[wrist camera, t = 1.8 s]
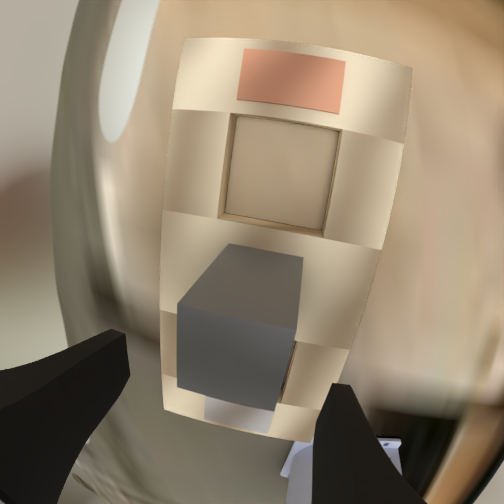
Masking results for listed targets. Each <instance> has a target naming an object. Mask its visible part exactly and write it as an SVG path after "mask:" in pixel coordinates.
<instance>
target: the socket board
mask: <svg viewBox="0 0 504 504" xmlns="http://www.w3.org/2000/svg"><path fill="white" fill-rule="evenodd" d="M411 80H412V68H411V67H407V66H404V65H401V64H397V63H394V62H390V61H387V60H383V59H379V58H375V57H371V56H367V55H363V54H358V53H354V52H349V51H344V50H339V49H333V48H328V47H322V46H316V45H309V44H302V43H294V42H285V41H275V40H263V39H246V38H184V41H183V47H182V52H181V57H180V63H179V69H178V75H177V81H176V87H175V94H174V101H173V108H172V116H171V123H170V132H169V140H168V149H167V159H166V170H165V182H164V195H163V209H162V227H161V251H160V347H161V371H162V388H163V402H164V409H165V410H168V411H171V412H174V413H177V414H181V415H184V416H187V417H190V418H194V419H197V420H201V421H204V422H208V423H212V424H215V425H219V426H223V427H227V428H231V429H236V430H240V431H244V432H249V433H254V434H259V435H264V436H269V437H274V438H280V439H286V440H292V441H298V442H305V443H310V442H311V440H312V438H313V436H314V432H315V425H316V420H317V418H318V416H319V413H320V411H321V409H322V406H323V404H324V402H325V399H326V397H327V394H328V392H329V389H330V387H331V384H332V383H337V382H338V379H339V377H340V375H341V372H342V369H343V367H344V364H345V362H346V359H347V357H348V354H349V351H350V349H351V346H352V343H353V340H354V338H355V335H356V332H357V329H358V326H359V323H360V320H361V317H362V314H363V311H364V308H365V305H366V302H367V299H368V296H369V293H370V289H371V286H372V283H373V279H374V276H375V272H376V269H377V265H378V262H379V258H380V254H381V251H382V247H383V243H384V239H385V235H386V231H387V227H388V223H389V219H390V214H391V210H392V205H393V201H394V196H395V191H396V186H397V181H398V176H399V170H400V165H401V159H402V153H403V147H404V140H405V133H406V126H407V118H408V110H409V101H410V91H411ZM237 116H244V117H253V118H262V119H270V120H277V121H284V122H291V123H297V124H303V125H309V126H315V127H320V128H326V129H331V130H336V131H340V133H339V139H338V146H337V152H336V158H335V164H334V170H333V176H332V182H331V187H330V193H329V198H328V203H327V209H326V214H325V219H324V224H323V229H322V231H319V230H314V229H309V228H304V227H298V226H293V225H288V224H282V223H277V222H271V221H266V220H260V219H254V218H249V217H243V216H237V215H231V214H225V213H224V212H225V204H226V195H227V187H228V179H229V171H230V163H231V156H232V148H233V141H234V133H235V126H236V119H237ZM229 243H231V244H236V245H241V246H247V247H252V248H257V249H262V250H268V251H273V252H278V253H283V254H289V255H294V256H299V257H303V269H302V280H301V291H300V302H299V312H298V322H297V331H296V335H295V338H294V341H296V345H295V349H294V352H293V356H292V360H291V363H290V367H289V371H288V374H287V378H286V381H285V385H284V388H283V389H281V390H280V394H279V397H278V401H277V404H276V408H275V411H270V410H265V409H260V408H255V407H251V406H246V405H242V404H238V403H233V402H229V401H225V400H221V399H217V398H213V397H210V396H206V395H202V394H199V393H195V392H192V391H188V390H185V389H181V388H178V387H177V358H176V346H177V303H178V302H179V301H180V300H181V298H182V297H183V296H184V295H185V294H186V293H187V291H188V290H189V289H190V288H191V287H192V286H193V284H194V283H195V282H196V281H197V280H198V278H199V277H200V276H201V275H202V274H203V273H204V271H205V270H206V269H207V268H208V267H209V266H210V264H211V263H212V262H213V261H214V260H215V259H216V258H217V256H218V255H219V254H220V253H221V252H222V251H223V249H224V248H225V247H226V246H227V245H228V244H229Z"/></svg>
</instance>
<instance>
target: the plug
mask: <svg viewBox="0 0 504 504" xmlns="http://www.w3.org/2000/svg"><path fill="white" fill-rule="evenodd" d="M302 269H303V257H299V256H294V255H289V254H283V253H278V252H273V251H268V250H262V249H257V248H252V247H247V246H241V245H236V244H231V243H229V244H228V245H227V246H226V247H225V248H224V249H223V251H222V252H221V253H220V254H219V255H218V256H217V258H216V259H215V260H214V261H213V262H212V263H211V264H210V266H209V267H208V268H207V269H206V270H205V271H204V273H203V274H202V275H201V276H200V277H199V278H198V280H197V281H196V282H195V283H194V284H193V286H192V287H191V288H190V289H189V290H188V291H187V293H186V294H185V295H184V296H183V297H182V298H181V300H180V301H179V302H178V303H177V346H176V358H177V387H178V388H181V389H185V390H188V391H192V392H195V393H199V394H202V395H206V396H210V397H213V398H217V399H221V400H225V401H229V402H233V403H238V404H242V405H246V406H251V407H255V408H260V409H265V410H270V411H275V408H276V404H277V401H278V397H279V394H280V390H281V387H282V383H283V380H284V376H285V372H286V369H287V365H288V361H289V358H290V354H291V350H292V346H293V342H294V338H295V335H296V331H297V322H298V312H299V302H300V291H301V280H302Z"/></svg>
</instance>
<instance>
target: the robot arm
mask: <svg viewBox="0 0 504 504" xmlns="http://www.w3.org/2000/svg"><path fill="white" fill-rule="evenodd" d="M129 377H130V369H129V362H128V354H127V345H126V336H125V333H122V332H119V331H116V330H113V329H110V330H107V331H105V332H103V333H100V334H98V335H96V336H94V337H92V338H89V339H87V340H85V341H83V342H81V343H79V344H76V345H74V346H72V347H70V348H67V349H65V350H63V351H61V352H58V353H56V354H53V355H50V356H48V357H45V358H43V359H40V360H38V361H35V362H32V363H29V364H26V365H22V366H18V367H15V368H11V369H5V370H0V504H57V502H58V499H59V496H60V494H61V491H62V489H63V487H64V484H65V482H66V479H67V477H68V475H69V473H70V471H71V469H72V467H73V465H74V463H75V461H76V459H77V457H78V455H79V453H80V451H81V450H82V448H83V446H84V444H85V443H86V441H87V440H88V438H89V437H90V435H91V434H92V433H93V431H94V430H95V429H96V427H97V426H98V424H99V423H100V422H101V420H102V419H103V418H104V416H105V415H106V414H107V412H108V411H109V410H110V408H111V407H112V406H113V404H114V403H115V401H116V400H117V399H118V397H119V396H120V394H121V392H122V390H123V389H124V387H125V385H126V383H127V381H128V379H129ZM400 445H401V440H400V439H390V438H377V437H376V435H375V433H374V431H373V429H372V428H371V426H370V424H369V422H368V420H367V418H366V416H365V414H364V412H363V410H362V408H361V406H360V404H359V402H358V400H357V398H356V396H355V394H354V391H353V389H352V387H351V386H350V385H346V384H338V383H332V384H331V387H330V389H329V392H328V394H327V397H326V399H325V402H324V404H323V406H322V409H321V411H320V413H319V416H318V418H317V420H316V425H315V432H314V436H313V438H312V440H311V442H310V443H305V442H298V441H294V443H293V445H292V448H291V450H290V452H289V454H288V457H287V459H286V461H285V463H284V465H283V468H282V470H281V473H280V475H281V476H282V477H288V478H289V482H288V489H287V496H286V502H285V504H427V503H426V502H425V501H424V500H423V499H422V498H421V497H420V496H419V495H418V494H417V493H416V492H415V491H414V490H413V488H412V487H411V486H410V485H409V484H408V482H407V481H406V480H405V479H404V478H403V476H402V472H401V465H400V459H399V453H398V448H399V446H400Z"/></svg>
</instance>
